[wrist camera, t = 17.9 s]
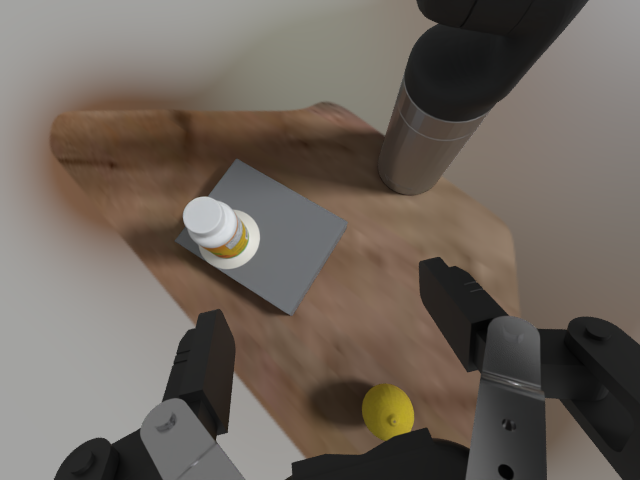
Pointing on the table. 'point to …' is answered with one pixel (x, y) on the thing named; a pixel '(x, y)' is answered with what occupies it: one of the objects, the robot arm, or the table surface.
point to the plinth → (273, 236)
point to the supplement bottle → (216, 227)
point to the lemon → (387, 411)
